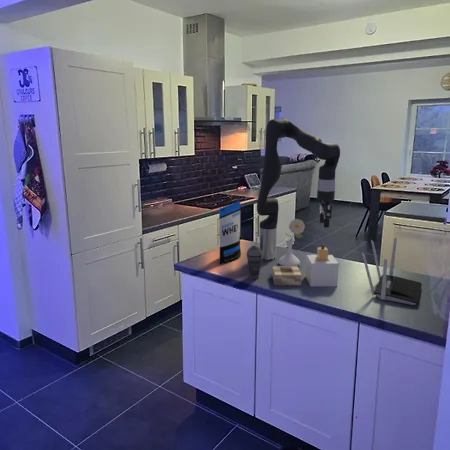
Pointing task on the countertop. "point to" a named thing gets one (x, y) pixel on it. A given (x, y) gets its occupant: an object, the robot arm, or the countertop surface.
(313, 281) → the white square socket block
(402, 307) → the countertop surface
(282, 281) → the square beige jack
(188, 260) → the countertop surface
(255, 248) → the beverage cup
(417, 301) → the wireless router
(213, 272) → the countertop surface
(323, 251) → the plug
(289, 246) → the flower in vase
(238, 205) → the protein powder
